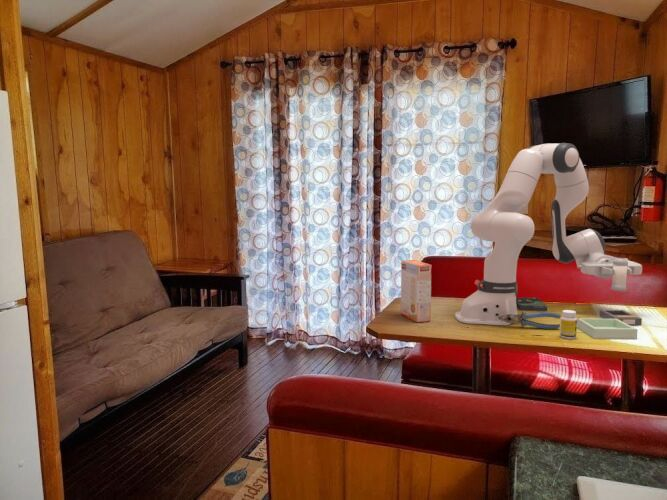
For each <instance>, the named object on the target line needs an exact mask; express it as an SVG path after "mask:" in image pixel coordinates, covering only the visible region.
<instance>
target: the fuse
mask: <svg viewBox="0 0 667 500" xmlns="http://www.w3.org/2000/svg"><path fill="white" fill-rule="evenodd" d="M620 258H621V257H619V258H615V259H613V269H614V270H615V274H613V277H611V278H612V279H611V280H612V281H611V290H612V291H615V292H616V291H618V292H626V291H627V277H628V275H627V266H628V261H629V259H628V258H627V259H620Z"/></svg>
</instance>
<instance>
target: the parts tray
mask: <svg viewBox="0 0 667 500" xmlns="http://www.w3.org/2000/svg"><path fill="white" fill-rule="evenodd" d="M576 318H577V317H576ZM577 329H579V330H580V331H582V332H583V333H585V334H586V335H588V336H590V337H591V338H593V340H595V339H598V340H600V339H603V340H605V339H606V340H607V339H609V340H610V339H611V340H616V339H617V340H619V339H620V340H637V339H638V330H639V329H638V328H636V327H634V326H630V325H628V324H626V323H624V322H622V321H620V320H618V319H603V318H586V317H585V318H582V317H581V318H577Z"/></svg>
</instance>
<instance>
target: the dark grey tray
mask: <svg viewBox="0 0 667 500" xmlns="http://www.w3.org/2000/svg"><path fill="white" fill-rule="evenodd" d="M599 318H600V319H618V320H620V321H622V322H624V323H626V324H628V325H630V326H632V327H634V325H641V326H642V323H643V321H642V320H643V319H642V317H640V316H637V315H635V314H634V313H633V314H632V313H631V312H629V311H627V310H624V309H600V310H599Z"/></svg>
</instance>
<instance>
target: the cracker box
mask: <svg viewBox="0 0 667 500" xmlns="http://www.w3.org/2000/svg"><path fill="white" fill-rule="evenodd" d="M400 263H401V267H400V268H401V269H400V273H401V275H400V314H401V315H402V316H404V317H406V318H408V319H409V320H410V321H411V320H412V321H413V322H415V323H427V322H429V323H430V322H431V310H432V309H431V308H432V306H431V305H432V303H431V301H432V297H431V296H432V264H429V263H428V262H427V263H426V262H422V261H419V260H415V259H407V260H401V262H400Z"/></svg>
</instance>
